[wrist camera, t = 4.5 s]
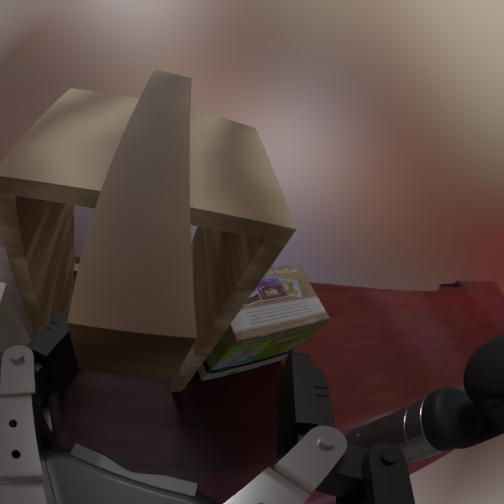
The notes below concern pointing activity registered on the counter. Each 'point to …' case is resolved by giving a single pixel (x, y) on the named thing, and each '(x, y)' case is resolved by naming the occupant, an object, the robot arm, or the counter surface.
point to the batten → (140, 246)
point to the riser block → (10, 322)
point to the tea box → (267, 324)
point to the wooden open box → (87, 193)
